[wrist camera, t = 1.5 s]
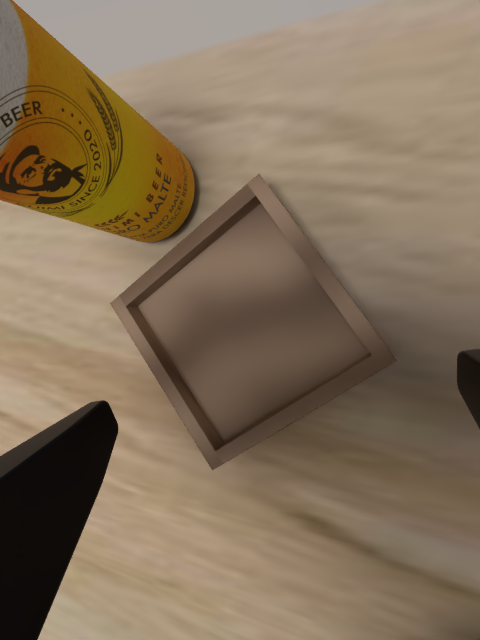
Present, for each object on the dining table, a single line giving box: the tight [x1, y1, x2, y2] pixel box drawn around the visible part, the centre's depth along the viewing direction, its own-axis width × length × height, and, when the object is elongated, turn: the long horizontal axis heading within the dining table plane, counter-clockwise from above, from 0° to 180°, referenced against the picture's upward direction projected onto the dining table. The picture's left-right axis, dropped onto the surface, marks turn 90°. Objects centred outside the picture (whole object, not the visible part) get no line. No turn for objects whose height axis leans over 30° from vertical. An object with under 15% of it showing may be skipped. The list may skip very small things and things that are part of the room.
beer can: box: [0, 0, 195, 242], centre depth 15 cm, size 6×6×15 cm
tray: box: [110, 174, 397, 470], centre depth 19 cm, size 12×12×2 cm
